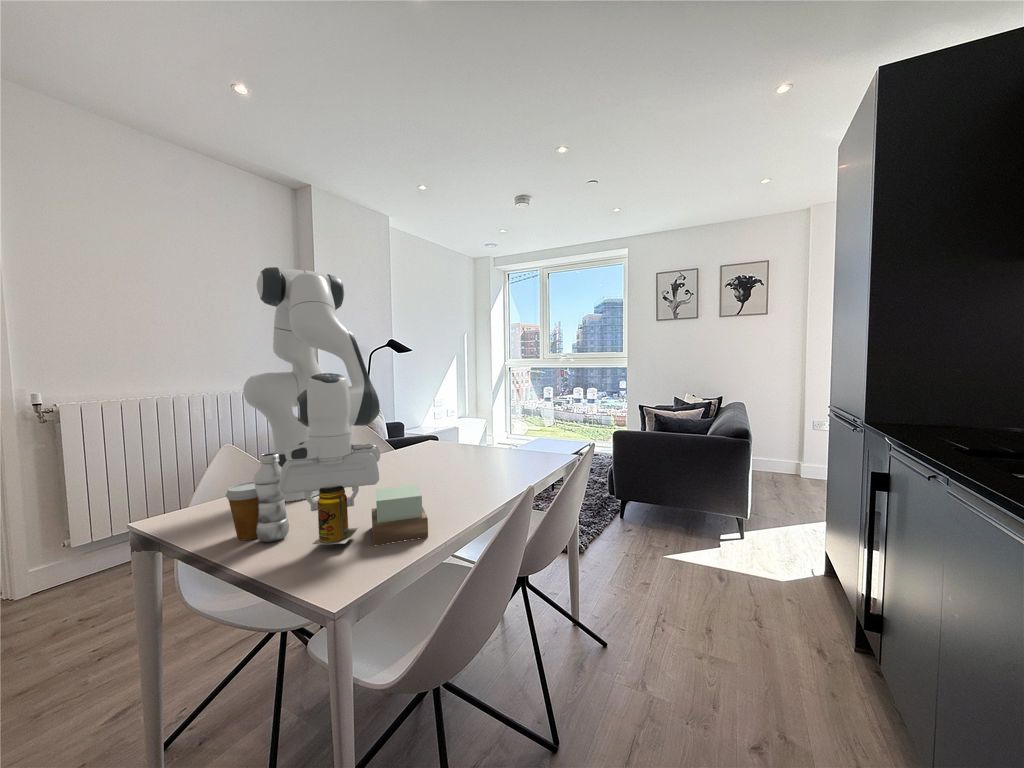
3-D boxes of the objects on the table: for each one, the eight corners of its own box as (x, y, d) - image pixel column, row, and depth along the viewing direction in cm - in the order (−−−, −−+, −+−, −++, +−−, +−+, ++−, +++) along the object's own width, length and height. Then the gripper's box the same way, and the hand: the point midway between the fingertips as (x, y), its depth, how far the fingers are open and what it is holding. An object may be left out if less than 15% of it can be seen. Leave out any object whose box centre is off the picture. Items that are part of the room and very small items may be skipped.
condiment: (311, 545, 89) (308, 490, 89) (328, 529, 98) (326, 479, 97) (345, 544, 90) (343, 489, 89) (359, 528, 98) (357, 478, 97)
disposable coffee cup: (281, 533, 100) (277, 484, 100) (235, 547, 93) (231, 494, 93) (268, 524, 107) (265, 478, 106) (224, 536, 100) (220, 487, 99)
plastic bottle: (293, 539, 97) (290, 454, 96) (260, 548, 92) (257, 459, 92) (284, 531, 102) (281, 450, 101) (252, 540, 97) (249, 455, 96)
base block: (372, 528, 104) (371, 508, 103) (421, 521, 108) (420, 502, 107) (373, 547, 92) (372, 525, 92) (428, 538, 96) (427, 517, 96)
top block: (376, 508, 103) (375, 488, 103) (417, 503, 106) (417, 484, 106) (377, 523, 94) (376, 501, 93) (422, 516, 97) (421, 495, 97)
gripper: (379, 440, 99) (381, 497, 100) (282, 447, 92) (284, 509, 93) (380, 445, 93) (382, 506, 94) (276, 453, 86) (279, 519, 87)
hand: (333, 507), depth 93 cm, fingers closed on condiment, 6 cm apart
